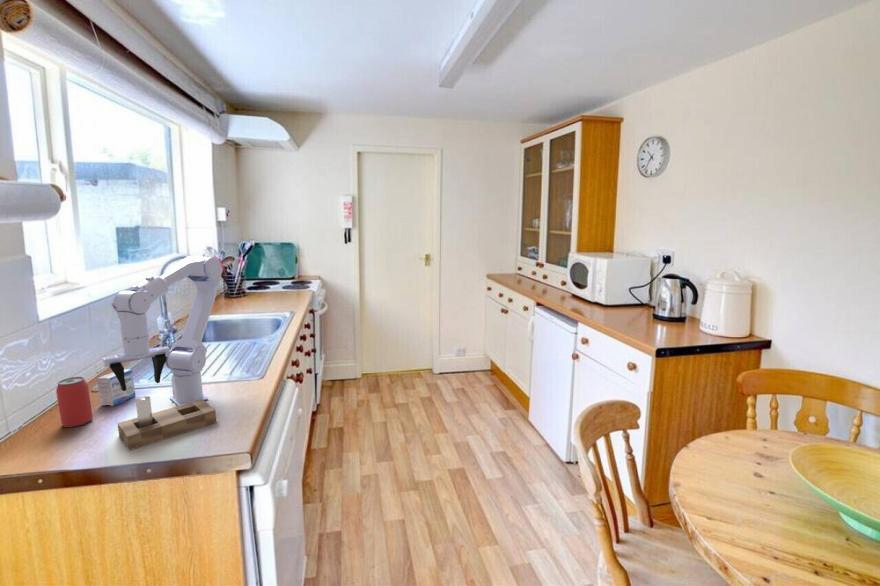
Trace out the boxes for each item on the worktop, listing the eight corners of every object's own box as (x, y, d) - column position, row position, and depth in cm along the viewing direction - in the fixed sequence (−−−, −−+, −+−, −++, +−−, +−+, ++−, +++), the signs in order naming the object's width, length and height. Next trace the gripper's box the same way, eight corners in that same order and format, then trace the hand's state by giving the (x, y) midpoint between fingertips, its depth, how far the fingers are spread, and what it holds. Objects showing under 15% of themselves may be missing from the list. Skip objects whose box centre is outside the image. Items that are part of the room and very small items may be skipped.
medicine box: (113, 406, 131) (109, 378, 129) (100, 405, 132) (96, 377, 130) (136, 396, 138) (132, 369, 137) (124, 394, 139) (120, 368, 138)
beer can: (86, 415, 126) (80, 374, 123) (97, 420, 122) (91, 378, 120) (57, 424, 120) (50, 382, 118) (68, 430, 117) (61, 387, 115)
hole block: (119, 436, 114) (117, 423, 113) (203, 410, 128) (201, 399, 127) (129, 450, 107) (127, 436, 106) (216, 422, 121) (215, 410, 121)
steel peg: (138, 435, 114) (134, 398, 112) (152, 431, 116) (148, 395, 114) (142, 439, 112) (137, 402, 110) (155, 435, 114) (151, 398, 112)
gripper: (104, 345, 109) (111, 397, 111) (171, 334, 119) (176, 382, 122) (98, 339, 114) (105, 390, 116) (163, 329, 124) (168, 376, 127)
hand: (141, 385), depth 119 cm, fingers open, 7 cm apart
